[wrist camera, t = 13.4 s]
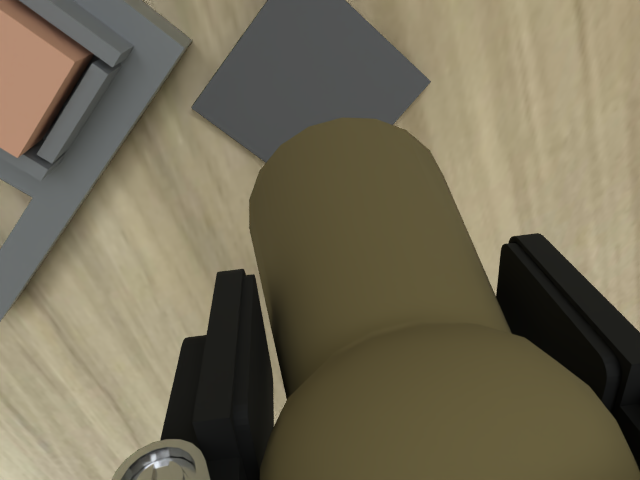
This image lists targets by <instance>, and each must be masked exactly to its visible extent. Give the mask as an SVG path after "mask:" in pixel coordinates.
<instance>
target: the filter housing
mask: <svg viewBox="0 0 640 480" xmlns="http://www.w3.org/2000/svg"><path fill="white" fill-rule="evenodd" d="M19 1H20V2H22V3H23V4H25V5H26V6H27V7H29V8H30V9H32V10H33V11H34V12H36V13H37V14H39V15H40V16H41V17H43V18H44V19H46V20H47V21H48V22H50V23H51V24H53V25H54V26H55V27H57V28H58V29H59V30H61V31H62V32H64V33H65V34H66V35H68V36H69V37H71V38H72V39H73V40H75V41H76V42H78V43H79V44H80V45H82V46H83V47H85V48H86V49H87V50H89V51H90V52H92V53H93V54H94V55H93V57H92V58H91V60H90V62H89V63H88V65H87V67H86V68H85V70H84V72H83V73H82V75H81V77H80V78H79V80H78V81H77V83H76V85H75V86H74V88H73V90H72V91H71V93H70V95H69V96H68V98H67V100H66V101H65V103H64V104H63V106H62V108H61V109H60V111H59V113H58V114H57V116H56V118H55V119H54V121H53V123H52V124H51V126H50V128H49V129H48V131H47V132H46V134H45V136H44V137H43V139H42V140H41V141H39V142H38V143H37V144H35V145H34V146H33V147H31V148H30V149H29V150H28V151H26V152H25V153H24V154H22V155H21V156H20V157H18V158H17V157H15V156H13V155H12V154H10V153H8V152H7V151H5V150H3V149H2V148H0V179H1V180H3V181H5V182H6V183H8V184H10V185H12V186H13V187H15V188H17V189H19V190H20V191H22V192H24V193H25V194H27V195H29V196H31V197H32V200H31V202H30V203H29V205H28V206H27V208H26V210H25V211H24V213H23V214H22V216H21V217H20V219H19V221H18V222H17V224H16V225H15V227H14V229H13V230H12V232H11V233H10V235H9V236H8V238H7V240H6V241H5V243H4V244H3V246H2V248H1V249H0V322H1V320H2V319H3V318H4V316H5V315H6V314H7V312H8V311H9V310H10V308H11V307H12V306H13V304H14V303H15V302H16V300H17V299H18V297H19V296H20V294H21V293H22V291H23V290H24V289H25V287H26V286H27V284H28V283H29V281H30V280H31V278H32V277H33V275H34V274H35V272H36V271H37V269H38V268H39V266H40V265H41V263H42V262H43V260H44V259H45V258H46V256H47V255H48V253H49V252H50V250H51V249H52V247H53V246H54V244H55V243H56V241H57V240H58V238H59V237H60V235H61V234H62V232H63V231H64V229H65V228H66V226H67V225H68V224H69V222H70V221H71V219H72V218H73V216H74V215H75V213H76V212H77V210H78V209H79V207H80V206H81V204H82V203H83V201H84V200H85V198H86V197H87V195H88V194H89V193H90V191H91V190H92V188H93V187H94V185H95V184H96V182H97V181H98V179H99V178H100V176H101V175H102V173H103V172H104V170H105V169H106V167H107V166H108V164H109V163H110V161H111V160H112V159H113V157H114V156H115V154H116V153H117V151H118V150H119V148H120V147H121V145H122V144H123V142H124V141H125V139H126V138H127V136H128V135H129V133H130V132H131V130H132V129H133V128H134V126H135V125H136V123H137V122H138V120H139V119H140V117H141V116H142V114H143V113H144V111H145V110H146V108H147V107H148V105H149V104H150V102H151V101H152V99H153V98H154V96H155V95H156V94H157V92H158V91H159V89H160V88H161V86H162V85H163V83H164V82H165V80H166V79H167V77H168V76H169V74H170V73H171V71H172V70H173V68H174V67H175V65H176V64H177V63H178V61H179V60H180V58H181V57H182V55H183V54H184V52H185V51H186V49H187V48H188V46H189V45H190V43H191V42H192V40H191V39H190V38H189V37H188V36H186V35H185V34H184V33H183V32H181V31H180V30H179V29H177V28H176V27H175V26H174V25H172V24H171V23H170V22H169V21H167V20H166V19H165V18H164V17H162V16H161V15H160V14H158V13H157V12H156V11H155V10H153V9H152V8H151V7H150V6H148V5H147V4H146V3H145V2H143V1H142V0H19Z"/></svg>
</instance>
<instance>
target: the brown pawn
mask: <svg viewBox="0 0 640 480" xmlns="http://www.w3.org/2000/svg"><path fill="white" fill-rule="evenodd" d="M249 229H250V233H251V238H252V242H253V247H254V251H255V256H256V261H257V265H258V270H259V274H260V279H261V283H262V288H263V292H264V297H265V302H266V306H267V311H268V315H269V320H270V324H271V329H272V334H273V338H274V343H275V347H276V352H277V356H278V361H279V366H280V370H281V375H282V379H283V384H284V388H285V393H286V398H287V401H286V403H285V405H284V407H283V409H282V411H281V413H280V415H279V417H278V419H277V422H276V424H275V426H274V428H273V430H272V432H271V434H270V437H269V440H268V444H267V447H266V450H265V453H264V457H263V460H262V463H261V467H260V480H640V471H639V468H638V466H637V463H636V461H635V459H634V456H633V454H632V452H631V450H630V448H629V446H628V444H627V442H626V440H625V437H624V435H623V433H622V431H621V429H620V427H619V425H618V423H617V421H616V419H615V418H614V417H613V416H612V414H611V413H610V412H609V410H608V409H607V408H606V407H605V405H604V404H603V403H602V402H601V400H600V399H599V398H598V397H597V395H596V394H595V393H594V391H593V390H592V389H591V388H590V386H589V385H587V384H586V383H585V382H583V381H582V380H581V379H579V378H578V377H577V376H575V375H574V374H573V373H572V372H570V371H569V370H568V369H566V368H565V367H564V366H562V365H561V364H560V363H559V362H557V361H556V360H555V359H553V358H552V357H551V356H549V355H548V354H546V353H545V352H544V351H542V350H541V349H540V348H538V347H537V346H536V345H534V344H533V343H532V342H530V341H529V340H528V339H526V338H525V337H521V336H518V335H514V334H512V333H511V330H510V328H509V326H508V324H507V321H506V319H505V317H504V314H503V312H502V310H501V307H500V305H499V303H498V301H497V298H496V296H495V294H494V291H493V289H492V287H491V284H490V282H489V280H488V277H487V275H486V273H485V271H484V268H483V266H482V264H481V261H480V259H479V257H478V254H477V252H476V250H475V247H474V245H473V243H472V241H471V238H470V236H469V234H468V231H467V229H466V227H465V224H464V222H463V220H462V217H461V215H460V213H459V211H458V208H457V206H456V204H455V201H454V199H453V197H452V194H451V192H450V190H449V188H448V185H447V183H446V181H445V178H444V176H443V174H442V172H441V170H440V169H439V167H438V165H437V163H436V161H435V159H434V158H433V156H432V154H431V152H430V150H429V149H427V148H426V147H425V146H424V145H423V144H422V143H420V142H419V141H418V140H417V139H416V138H415V137H413V136H412V135H411V134H410V133H409V132H408V131H406V130H404V129H401V128H399V127H396V126H394V125H391V124H388V123H386V122H383V121H381V120H378V119H369V118H344V117H342V118H338V119H335V120H331V121H327V122H324V123H320V124H317V125H313V126H309V127H307V128H306V129H304V130H303V131H301V132H300V133H298V134H297V135H295V136H294V137H292V138H291V139H289V140H288V141H286V142H285V143H283V144H281V145H280V146H279V147H278V149H277V150H276V151H275V152H274V154H273V155H272V156H271V157H270V159H269V160H268V161H267V162H266V164H265V165H264V166H263V167H262V169H261V170H260V172H259V174H258V177H257V180H256V183H255V185H254V188H253V191H252V194H251V197H250V199H249Z"/></svg>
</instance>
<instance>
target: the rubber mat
mask: <svg viewBox="0 0 640 480" xmlns="http://www.w3.org/2000/svg"><path fill="white" fill-rule="evenodd" d="M430 82H431V81H430V80H429V79H428V78H427V77H426V76H424V75H423V74H422V73H421V72H420V71H419V70H418V69H417V68H416V67H415V66H414V65H413V64H412V63H411V62H410V61H409V60H408V59H406V58H405V57H404V56H403V55H402V54H401V53H400V52H399V51H398V50H397V49H396V48H395V47H394V46H393V45H392V44H391V43H390V42H388V41H387V40H386V39H385V38H384V37H383V36H382V35H381V34H380V33H379V32H378V31H377V30H376V29H375V28H374V27H373V26H372V25H371V24H369V23H368V22H367V21H366V20H365V19H364V18H363V17H362V16H361V15H360V14H359V13H358V12H357V11H356V10H355V9H354V8H353V7H351V6H350V5H349V4H348V3H347V2H346V1H345V0H267V2H266V3H265V4H264V6H263V7H262V9H261V10H260V11H259V13H258V14H257V16H256V17H255V19H254V20H253V21H252V23H251V24H250V26H249V27H248V28H247V30H246V31H245V33H244V34H243V35H242V37H241V38H240V40H239V41H238V42H237V44H236V45H235V47H234V48H233V49H232V51H231V52H230V54H229V55H228V56H227V58H226V59H225V61H224V62H223V63H222V65H221V66H220V68H219V69H218V70H217V72H216V73H215V75H214V76H213V77H212V79H211V80H210V82H209V83H208V85H207V86H206V87H205V89H204V90H203V92H202V93H201V94H200V96H199V97H198V99H197V100H196V101H195V103H194V104H193V106H192V109H193V110H195V111H196V112H197V113H199V114H200V115H201V116H203V117H204V118H206V119H207V120H208V121H210V122H211V123H212V124H214V125H215V126H216V127H218V128H219V129H221V130H222V131H223V132H225V133H226V134H227V135H229V136H230V137H232V138H233V139H234V140H236V141H237V142H238V143H240V144H241V145H242V146H244V147H245V148H247V149H248V150H249V151H251V152H252V153H253V154H255V155H256V156H258V157H259V158H260V159H262V160H263V161H264V162H267V161H268V160H269V159H270V157H271V156H272V155H273V154H274V152H275V151H276V150H277V149H278V147H279V146H280V145H281V144H283V143H285V142H286V141H288V140H289V139H291V138H292V137H294V136H295V135H297V134H298V133H300V132H301V131H303V130H304V129H306V128H307V127H309V126H313V125H317V124H320V123H324V122H327V121H331V120H335V119H338V118H342V117H344V118H369V119H378V120H381V121H383V122H386V123H388V124H391V125H393V124H394V123H395V122H396V120H397V119H398V118H399V117H400V116H401V115H402V114H403V113H404V111H405V110H406V109H407V108H408V107H409V106H410V105H411V103H412V102H413V101H414V100H415V99H416V98H417V97H418V96H419V94H420V93H421V92H422V91H423V90H424V89H425V88H426V87H427V85H428V84H429V83H430Z"/></svg>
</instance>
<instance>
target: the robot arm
mask: <svg viewBox="0 0 640 480" xmlns="http://www.w3.org/2000/svg"><path fill="white" fill-rule="evenodd" d="M496 298H497V301H498V303H499V305H500V307H501V310H502V312H503V314H504V317H505V319H506V321H507V324H508V326H509V328H510V330H511V333H512V334H514V335H518V336H521V337H525V338H526V339H528V340H529V341H530V342H532V343H533V344H534V345H536V346H537V347H538V348H540V349H541V350H542V351H544V352H545V353H546V354H548V355H549V356H551V357H552V358H553V359H555V360H556V361H557V362H559V363H560V364H561V365H562V366H564V367H565V368H566V369H568V370H569V371H570V372H572V373H573V374H574V375H575V376H577V377H578V378H579V379H581V380H582V381H583V382H585V383H586V384H587V385H589V386H590V388H591V389H592V390H593V391H594V393H595V394H596V395H597V397H598V398H599V399H600V400H601V402H602V403H603V404H604V405H605V407H606V408H607V409H608V410H609V412H610V413H611V414H612V416H613V417H614V418H615V419H616V421H617V423H618V425H619V427H620V429H621V431H622V433H623V435H624V437H625V440H626V442H627V444H628V446H629V448H630V450H631V452H632V454H633V456H634V459H635V461H636V463H637V466H638V468H639V471H640V332H639V331H638V330H637V329H636V328H635V327H634V326H633V325H632V324H631V323H630V322H629V321H628V320H627V319H626V318H625V317H624V316H623V315H622V314H621V313H620V312H619V311H618V310H617V309H616V308H615V307H614V306H613V305H612V304H611V303H610V302H609V301H608V300H607V299H606V298H605V297H604V296H603V295H602V294H601V293H600V292H599V291H598V290H597V289H596V288H595V287H594V286H593V285H592V284H591V283H590V282H589V281H588V280H587V279H586V278H585V277H584V276H583V275H582V274H581V273H580V272H579V271H578V270H577V269H576V268H575V267H574V266H573V265H572V264H571V263H570V262H569V261H568V260H567V259H566V258H565V257H564V256H563V255H562V254H561V253H560V252H559V251H558V250H557V249H556V248H555V247H554V246H553V245H552V244H551V243H550V242H549V241H548V240H547V239H546V238H545V237H544V236H543V235H541V234H538V233H537V234H528V235H520V236H513V237H511V238H510V240H509V244H504V245H503V246H502V248H501V256H500V265H499V275H498V285H497V294H496ZM273 428H274V411H273V376H272V368H271V362H270V357H269V351H268V345H267V340H266V334H265V329H264V323H263V317H262V312H261V306H260V301H259V295H258V289H257V284H256V278H255V275H254V274H253V275H246V274H245V271H244V269H238V270H230V271H222V272H217V276H216V282H215V288H214V294H213V300H212V306H211V312H210V318H209V324H208V330H207V335H203V336H195V337H188V338H185V339H184V340H183V343H182V347H181V351H180V356H179V360H178V364H177V369H176V373H175V378H174V382H173V387H172V391H171V395H170V400H169V404H168V409H167V413H166V418H165V422H164V426H163V431H162V435H161V440H160V441H157V442H153V443H151V444H149V445H147V446H145V447H143V448H141V449H139V450H137V451H136V452H135V453H133V454H132V455H131V456H130V457H128V458H127V459H126V460H125V461H124V462H123V463H122V465H121V466H120V467H119V468H118V469H117V471H116V472H115V474H114V476H113V478H112V480H260V467H261V463H262V460H263V457H264V453H265V450H266V447H267V444H268V440H269V437H270V434H271V432H272V430H273Z"/></svg>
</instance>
